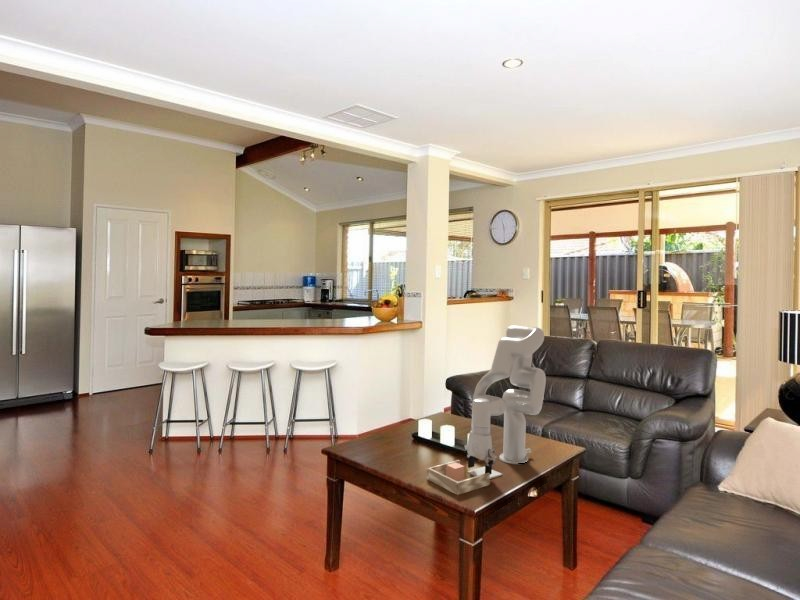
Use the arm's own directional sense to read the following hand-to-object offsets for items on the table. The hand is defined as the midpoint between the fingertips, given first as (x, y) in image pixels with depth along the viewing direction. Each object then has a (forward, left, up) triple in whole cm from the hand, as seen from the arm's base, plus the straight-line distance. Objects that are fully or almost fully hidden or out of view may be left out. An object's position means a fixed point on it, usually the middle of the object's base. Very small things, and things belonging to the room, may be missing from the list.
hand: (479, 470), depth 213 cm
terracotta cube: (+13, 0, -2) cm, 14 cm away
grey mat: (-3, 0, -2) cm, 4 cm away
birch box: (+11, 0, -2) cm, 12 cm away
